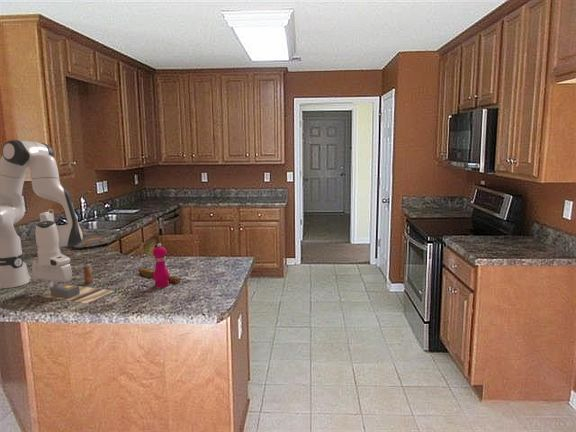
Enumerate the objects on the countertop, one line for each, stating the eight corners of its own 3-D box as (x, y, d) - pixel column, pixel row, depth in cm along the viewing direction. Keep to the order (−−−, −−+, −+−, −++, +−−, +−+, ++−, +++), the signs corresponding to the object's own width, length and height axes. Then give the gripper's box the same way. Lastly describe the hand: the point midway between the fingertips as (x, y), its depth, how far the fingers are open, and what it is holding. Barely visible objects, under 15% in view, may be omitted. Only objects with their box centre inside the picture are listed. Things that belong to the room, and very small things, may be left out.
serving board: (58, 242, 302) (57, 233, 301) (93, 237, 317) (92, 229, 316) (76, 252, 274) (75, 242, 273) (114, 246, 289) (113, 236, 288)
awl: (83, 286, 206) (80, 259, 204) (89, 284, 209) (86, 257, 207) (89, 287, 205) (86, 260, 203) (94, 284, 208) (92, 258, 206)
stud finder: (51, 295, 190) (50, 287, 190) (62, 291, 196) (61, 283, 195) (68, 298, 186) (67, 289, 186) (79, 293, 192) (78, 285, 191)
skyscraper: (60, 253, 272) (55, 208, 268) (57, 256, 265) (52, 210, 260) (44, 254, 270) (39, 209, 265) (42, 257, 262) (36, 211, 257)
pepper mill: (156, 283, 209) (153, 241, 205) (171, 282, 208) (169, 241, 205) (151, 288, 202) (148, 245, 198) (167, 287, 201) (164, 245, 198)
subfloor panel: (40, 299, 190) (40, 296, 190) (71, 287, 205) (70, 285, 204) (86, 306, 180) (86, 303, 180) (115, 293, 195) (114, 290, 195)
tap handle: (175, 278, 206) (137, 268, 224) (175, 285, 206) (137, 274, 224) (180, 277, 208) (142, 267, 226) (181, 283, 209) (142, 272, 227)
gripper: (26, 258, 192) (30, 289, 194) (60, 262, 184) (64, 294, 187) (39, 255, 198) (42, 284, 200) (73, 258, 190) (76, 289, 192)
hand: (53, 289), depth 193 cm, fingers closed
